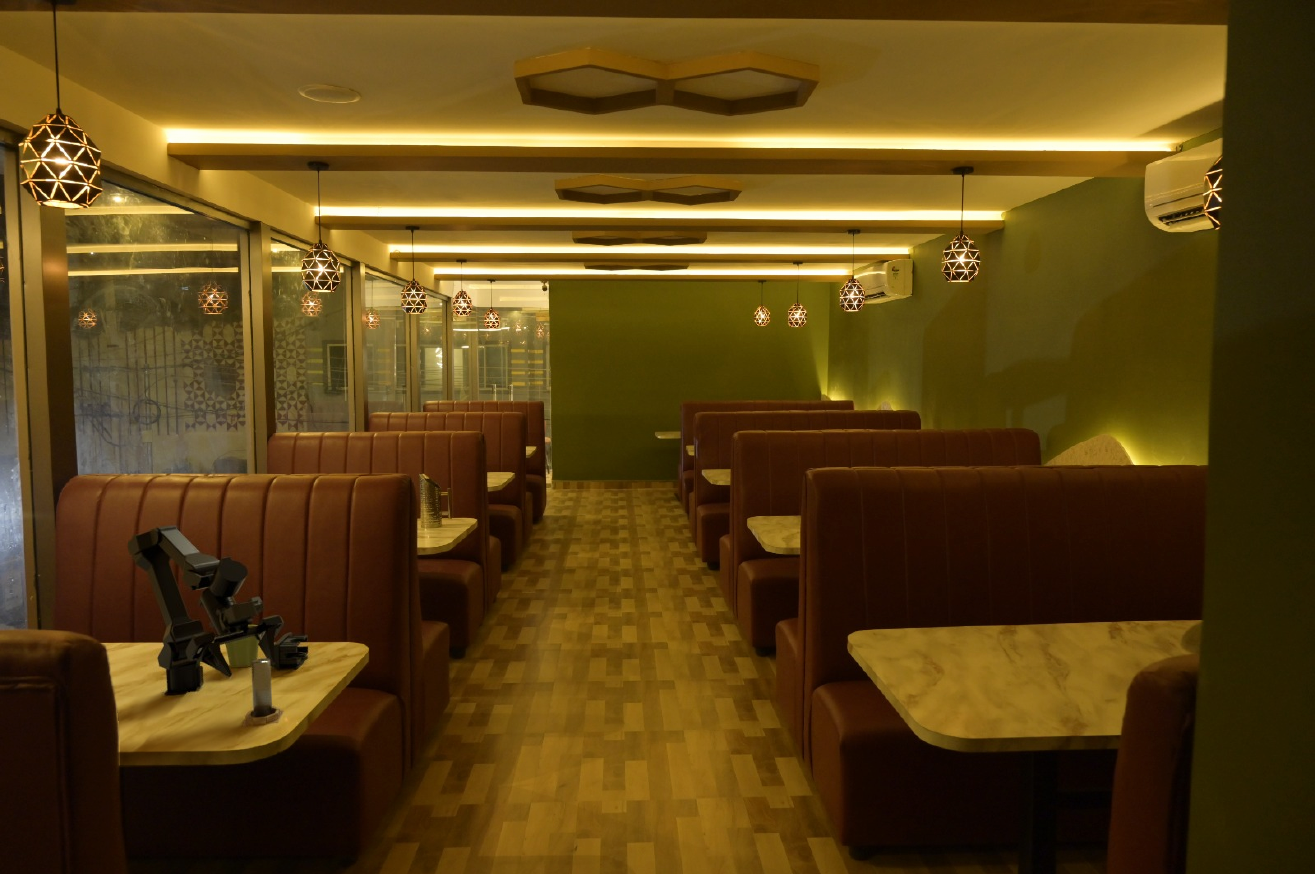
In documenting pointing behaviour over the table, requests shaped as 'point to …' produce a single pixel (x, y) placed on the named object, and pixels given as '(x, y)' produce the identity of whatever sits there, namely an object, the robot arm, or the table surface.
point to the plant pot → (242, 651)
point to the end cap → (290, 652)
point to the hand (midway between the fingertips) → (252, 669)
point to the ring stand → (263, 720)
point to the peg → (261, 687)
